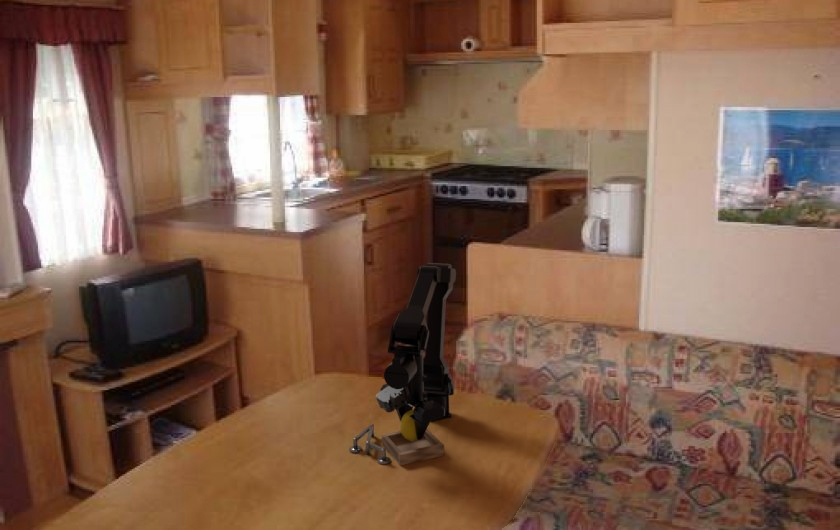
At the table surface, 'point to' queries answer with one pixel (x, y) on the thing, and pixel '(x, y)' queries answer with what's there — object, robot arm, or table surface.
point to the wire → (369, 445)
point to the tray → (412, 447)
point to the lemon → (408, 426)
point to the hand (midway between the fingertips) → (412, 434)
